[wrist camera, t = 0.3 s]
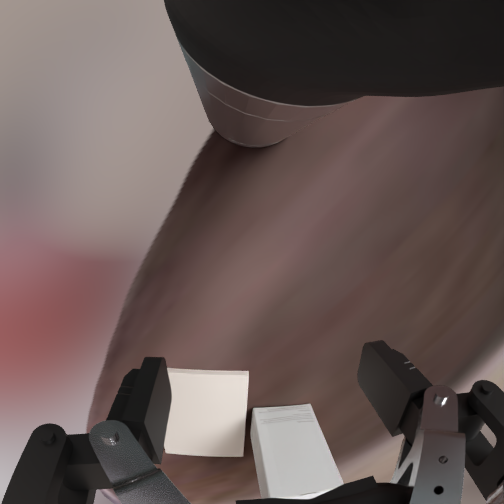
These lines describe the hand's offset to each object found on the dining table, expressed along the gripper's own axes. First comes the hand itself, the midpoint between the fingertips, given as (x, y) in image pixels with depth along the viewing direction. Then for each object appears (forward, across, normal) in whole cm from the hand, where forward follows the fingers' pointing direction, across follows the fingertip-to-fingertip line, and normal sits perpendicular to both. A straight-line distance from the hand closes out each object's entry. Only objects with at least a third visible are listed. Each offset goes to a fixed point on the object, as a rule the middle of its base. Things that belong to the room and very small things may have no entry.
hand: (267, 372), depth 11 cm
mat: (+19, +6, +23) cm, 30 cm away
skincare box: (+19, -5, +23) cm, 31 cm away
